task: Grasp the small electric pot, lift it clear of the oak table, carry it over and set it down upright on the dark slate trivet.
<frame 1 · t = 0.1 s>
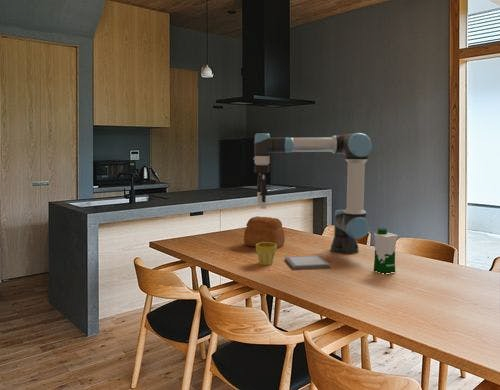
hand: (261, 206, 226), 28 cm above the table, fingers open, 13 cm apart
milk carton: (384, 272, 209), on the table
plant pot: (266, 264, 223), on the table
bread: (264, 246, 262), on the table
trivet: (306, 263, 223), on the table
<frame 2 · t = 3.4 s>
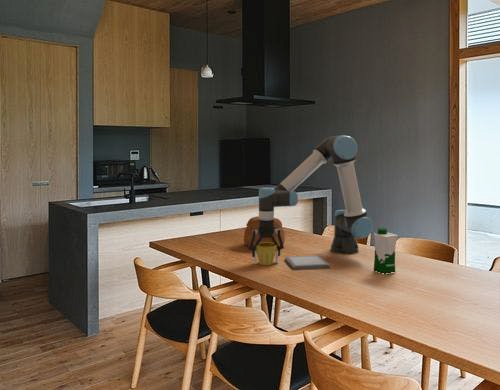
hand: (266, 262, 223), 0 cm above the table, fingers closed on plant pot, 10 cm apart
plant pot: (266, 263, 223), on the table, touching gripper
everything else where it was.
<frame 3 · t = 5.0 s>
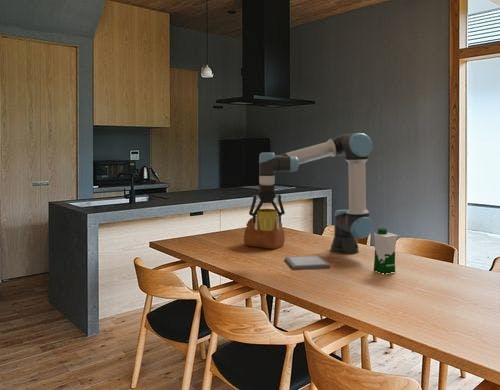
hand: (266, 228, 221), 18 cm above the table, fingers closed on plant pot, 10 cm apart
plant pot: (267, 229, 221), point 17 cm above the table, touching gripper
everything else where it was.
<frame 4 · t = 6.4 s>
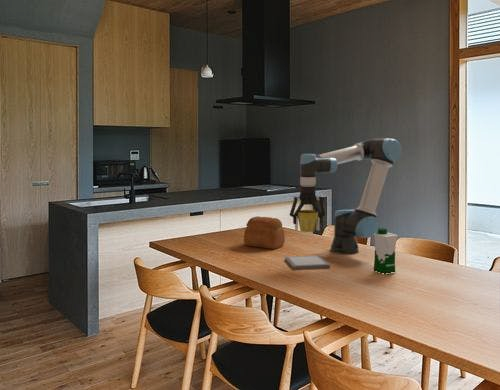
hand: (307, 230, 221), 17 cm above the table, fingers closed on plant pot, 10 cm apart
plant pot: (307, 231, 221), point 16 cm above the table, touching gripper
everything else where it was.
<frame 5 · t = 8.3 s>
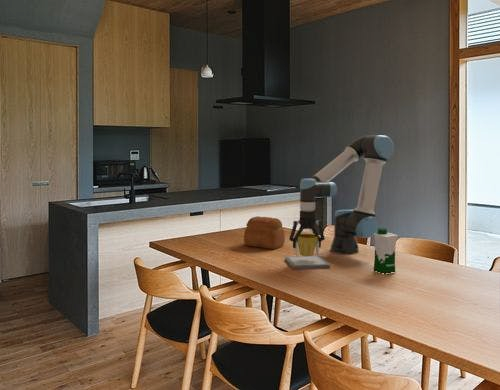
hand: (306, 254, 222), 5 cm above the table, fingers closed on plant pot, 10 cm apart
plant pot: (306, 255, 222), point 4 cm above the table, touching gripper
everything else where it was.
when the fingers open (3 cm above the table, at t = 9.8 s): plant pot stays where it is, resting on trivet.
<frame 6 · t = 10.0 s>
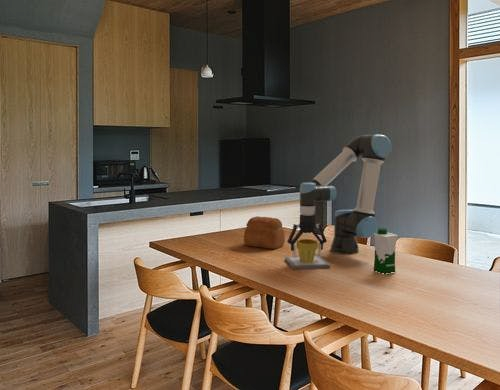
hand: (306, 256, 223), 3 cm above the table, fingers open, 12 cm apart
plant pot: (306, 260, 223), point 1 cm above the table, touching trivet
everything else where it was.
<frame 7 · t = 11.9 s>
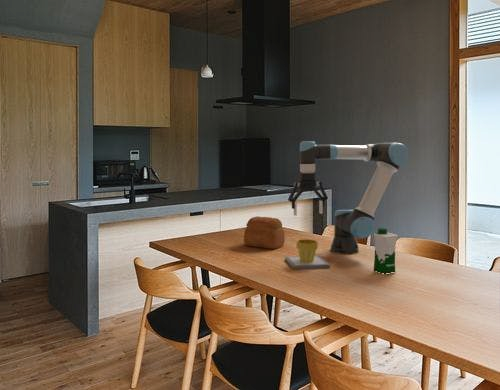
hand: (308, 214, 226), 24 cm above the table, fingers open, 13 cm apart
nothing on the table moved.
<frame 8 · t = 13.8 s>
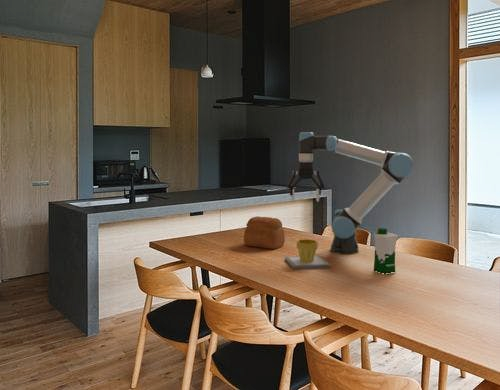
hand: (305, 201, 239), 29 cm above the table, fingers open, 13 cm apart
nothing on the table moved.
at the end: plant pot inside the target area on the trivet (0.1 cm from its centre), point 1.4 cm above the trivet's base; plant pot tilted 0°; the gripper is holding nothing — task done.
